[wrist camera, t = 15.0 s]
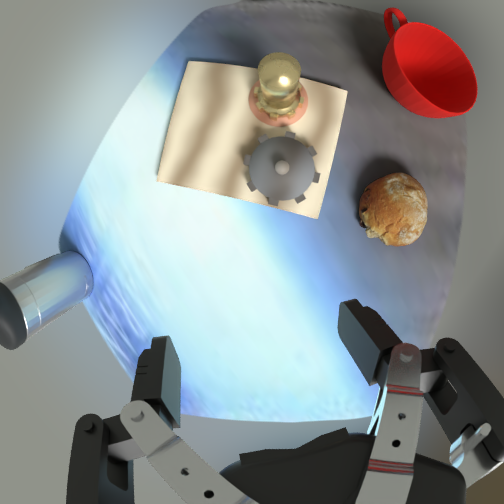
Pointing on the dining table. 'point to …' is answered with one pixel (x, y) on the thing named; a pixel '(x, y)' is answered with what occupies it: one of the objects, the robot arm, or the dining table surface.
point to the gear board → (251, 140)
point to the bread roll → (394, 209)
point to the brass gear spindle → (279, 86)
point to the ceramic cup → (427, 69)
